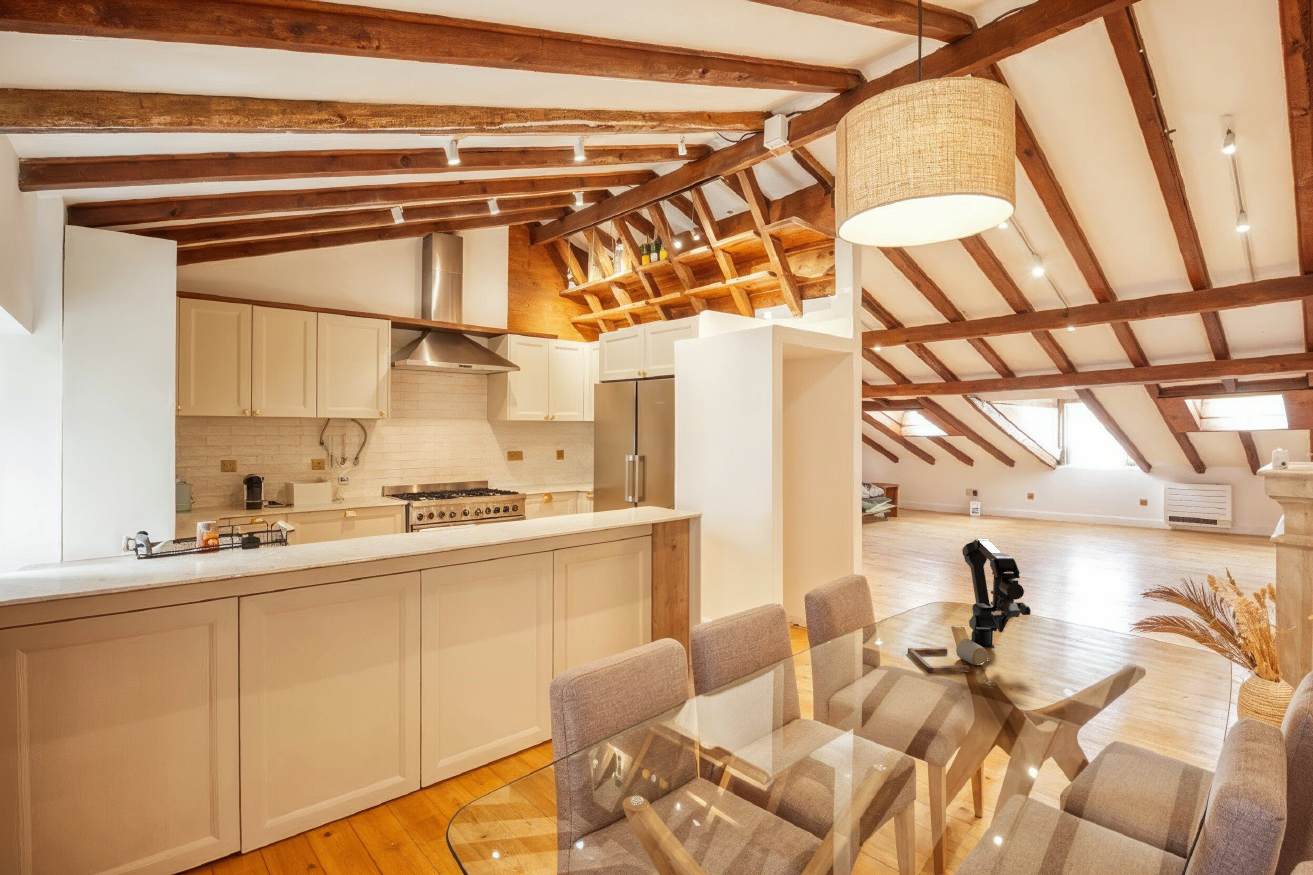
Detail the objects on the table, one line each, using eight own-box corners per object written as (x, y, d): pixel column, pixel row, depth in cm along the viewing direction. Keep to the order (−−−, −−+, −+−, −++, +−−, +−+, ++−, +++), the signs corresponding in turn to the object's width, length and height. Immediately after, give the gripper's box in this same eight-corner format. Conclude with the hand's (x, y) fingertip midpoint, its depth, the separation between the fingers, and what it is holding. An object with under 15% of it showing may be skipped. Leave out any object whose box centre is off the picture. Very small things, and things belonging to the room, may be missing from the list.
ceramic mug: (973, 668, 226) (974, 647, 225) (955, 659, 234) (956, 639, 233) (995, 664, 229) (996, 644, 229) (977, 655, 237) (978, 635, 237)
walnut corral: (945, 652, 240) (945, 647, 240) (969, 672, 223) (969, 666, 223) (907, 653, 239) (907, 648, 239) (928, 673, 222) (928, 667, 222)
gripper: (989, 598, 221) (987, 641, 223) (1041, 597, 222) (1039, 640, 223) (972, 588, 233) (970, 629, 234) (1021, 586, 233) (1020, 628, 235)
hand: (1000, 631), depth 231 cm, fingers closed
